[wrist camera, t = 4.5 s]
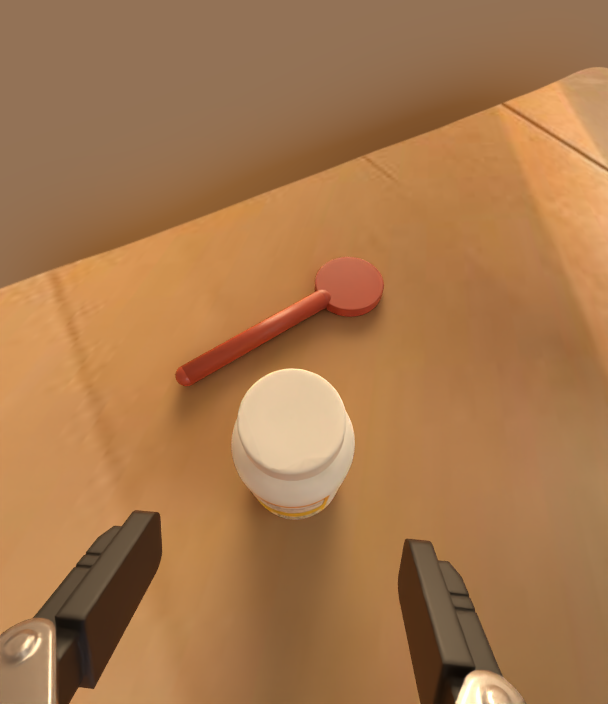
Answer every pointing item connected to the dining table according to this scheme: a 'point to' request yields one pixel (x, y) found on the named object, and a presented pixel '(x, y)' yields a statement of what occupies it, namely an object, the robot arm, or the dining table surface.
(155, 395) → the dining table surface
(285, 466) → the supplement bottle
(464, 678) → the robot arm
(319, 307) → the red spoon
